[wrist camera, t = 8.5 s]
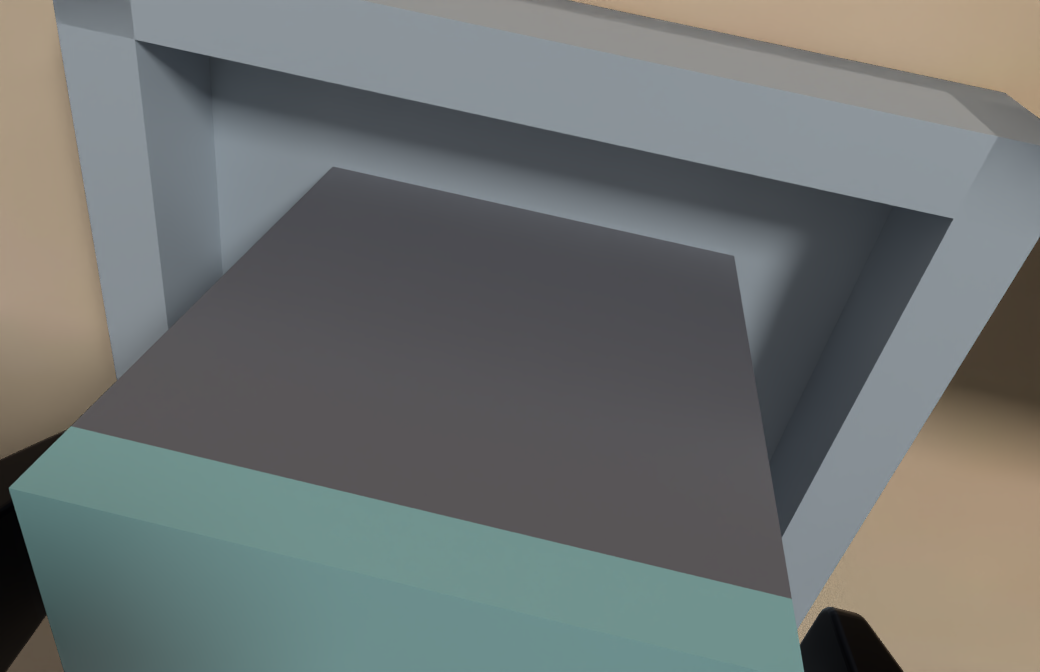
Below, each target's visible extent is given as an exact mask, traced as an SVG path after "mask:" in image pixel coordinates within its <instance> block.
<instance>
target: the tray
mask: <svg viewBox="0 0 1040 672" xmlns="http://www.w3.org/2000/svg"><path fill="white" fill-rule="evenodd" d="M53 5H54V10H55V16H56V22H57V28H58V34H59V40H60V46H61V52H62V58H63V64H64V70H65V76H66V81H67V87H68V93H69V99H70V105H71V111H72V117H73V123H74V129H75V135H76V141H77V146H78V152H79V158H80V164H81V170H82V176H83V182H84V188H85V194H86V200H87V206H88V212H89V217H90V223H91V229H92V235H93V241H94V247H95V253H96V259H97V265H98V271H99V277H100V283H101V288H102V294H103V300H104V306H105V312H106V318H107V324H108V330H109V336H110V342H111V348H112V354H113V359H114V365H115V371H116V377H117V380H118V379H119V378H120V377H121V376H122V375H123V374H124V373H125V372H126V371H127V370H128V369H129V368H130V367H131V366H132V365H133V364H134V363H135V362H136V361H137V360H138V359H139V358H140V357H141V356H142V355H143V354H144V353H145V352H146V351H147V350H148V349H149V348H150V347H151V346H152V345H153V344H154V343H155V342H156V341H157V340H158V339H159V338H160V337H161V336H162V335H163V334H164V333H165V332H166V331H167V330H168V329H169V328H170V327H171V326H173V325H174V324H175V323H176V322H177V321H178V320H179V319H180V318H181V317H182V316H183V315H184V314H185V313H186V312H187V311H188V310H189V309H190V308H191V307H192V306H193V305H194V304H195V303H196V302H197V301H198V300H199V299H200V298H201V297H202V296H203V295H204V294H205V293H206V292H207V291H208V290H209V289H210V288H211V287H212V286H213V285H214V284H215V283H216V282H217V281H218V280H219V279H220V278H221V277H222V276H223V275H224V274H225V273H226V272H227V271H228V270H229V269H230V268H231V267H232V266H233V265H234V264H235V263H236V262H237V261H238V260H239V259H240V258H241V257H242V256H243V255H244V254H245V253H246V252H247V251H248V250H249V249H250V248H251V247H252V246H253V245H254V244H255V243H256V242H257V241H258V240H259V239H260V238H261V237H262V236H263V235H264V234H265V233H266V232H267V231H268V230H269V229H270V228H271V227H272V226H273V225H274V224H275V223H276V222H277V221H278V220H279V219H280V218H281V217H282V216H283V215H284V214H285V213H286V212H288V211H289V210H290V209H291V208H292V207H293V206H294V205H295V204H296V203H297V202H298V201H299V200H300V199H301V198H302V197H303V196H304V195H305V194H306V193H307V192H308V191H309V190H310V189H311V188H312V187H313V186H314V185H315V184H316V183H317V182H318V181H319V180H320V179H321V178H322V177H323V176H324V175H325V174H326V173H327V172H328V171H329V170H330V169H331V168H332V167H338V168H342V169H347V170H351V171H356V172H360V173H365V174H369V175H374V176H378V177H383V178H387V179H392V180H396V181H401V182H405V183H409V184H414V185H418V186H423V187H427V188H432V189H436V190H441V191H445V192H450V193H454V194H459V195H463V196H468V197H472V198H477V199H481V200H486V201H490V202H495V203H499V204H504V205H508V206H513V207H517V208H522V209H526V210H531V211H535V212H540V213H544V214H548V215H553V216H557V217H562V218H566V219H571V220H575V221H580V222H584V223H589V224H593V225H598V226H602V227H607V228H611V229H616V230H620V231H625V232H629V233H634V234H638V235H643V236H647V237H652V238H656V239H661V240H665V241H670V242H674V243H679V244H683V245H687V246H692V247H696V248H701V249H705V250H710V251H714V252H719V253H723V254H728V255H732V256H734V258H735V264H736V270H737V276H738V282H739V288H740V294H741V300H742V306H743V312H744V318H745V323H746V329H747V335H748V341H749V347H750V353H751V359H752V365H753V371H754V377H755V383H756V389H757V395H758V401H759V407H760V413H761V418H762V424H763V430H764V436H765V442H766V448H767V454H768V460H769V466H770V472H771V478H772V484H773V490H774V496H775V502H776V508H777V513H778V519H779V525H780V531H781V537H782V543H783V549H784V555H785V561H786V567H787V573H788V579H789V585H790V591H791V597H792V603H793V608H794V614H795V620H796V626H797V629H798V627H799V626H800V624H801V622H802V621H803V619H804V618H805V616H806V614H807V613H808V611H809V609H810V608H811V606H812V605H813V603H814V601H815V600H816V598H817V596H818V595H819V593H820V592H821V590H822V588H823V587H824V585H825V584H826V582H827V580H828V579H829V577H830V575H831V574H832V572H833V571H834V569H835V567H836V566H837V564H838V562H839V561H840V559H841V558H842V556H843V554H844V553H845V551H846V550H847V548H848V546H849V545H850V543H851V541H852V540H853V538H854V537H855V535H856V533H857V532H858V530H859V529H860V527H861V525H862V524H863V522H864V520H865V519H866V517H867V516H868V514H869V512H870V511H871V509H872V507H873V506H874V504H875V503H876V501H877V499H878V498H879V496H880V495H881V493H882V491H883V490H884V488H885V486H886V485H887V483H888V482H889V480H890V478H891V477H892V475H893V473H894V472H895V470H896V469H897V467H898V465H899V464H900V462H901V461H902V459H903V457H904V456H905V454H906V452H907V451H908V449H909V448H910V446H911V444H912V443H913V441H914V440H915V438H916V436H917V435H918V433H919V431H920V430H921V428H922V427H923V425H924V423H925V422H926V420H927V418H928V417H929V415H930V414H931V412H932V410H933V409H934V407H935V406H936V404H937V402H938V401H939V399H940V397H941V396H942V394H943V393H944V391H945V389H946V388H947V386H948V384H949V383H950V381H951V380H952V378H953V376H954V375H955V373H956V372H957V370H958V368H959V367H960V365H961V363H962V362H963V360H964V359H965V357H966V355H967V354H968V352H969V351H970V349H971V347H972V346H973V344H974V342H975V341H976V339H977V338H978V336H979V334H980V333H981V331H982V329H983V328H984V326H985V325H986V323H987V321H988V320H989V318H990V317H991V315H992V313H993V312H994V310H995V308H996V307H997V305H998V304H999V302H1000V300H1001V299H1002V297H1003V296H1004V294H1005V292H1006V291H1007V289H1008V287H1009V286H1010V284H1011V283H1012V281H1013V279H1014V278H1015V276H1016V274H1017V273H1018V271H1019V270H1020V268H1021V266H1022V265H1023V263H1024V262H1025V260H1026V258H1027V257H1028V255H1029V253H1030V252H1031V250H1032V249H1033V247H1034V245H1035V244H1036V242H1037V240H1038V239H1039V237H1040V119H1039V118H1038V117H1036V116H1035V115H1034V114H1032V113H1031V112H1030V111H1028V110H1027V109H1026V108H1024V107H1023V106H1022V105H1020V104H1019V103H1018V102H1016V101H1015V100H1014V99H1012V98H1011V97H1010V96H1008V95H1007V94H1006V93H1003V92H999V91H994V90H989V89H985V88H980V87H975V86H970V85H966V84H961V83H956V82H952V81H947V80H942V79H937V78H933V77H928V76H923V75H918V74H914V73H909V72H904V71H900V70H895V69H890V68H885V67H881V66H876V65H871V64H867V63H862V62H857V61H852V60H848V59H843V58H838V57H834V56H829V55H824V54H819V53H815V52H810V51H805V50H801V49H796V48H791V47H786V46H782V45H777V44H772V43H767V42H763V41H758V40H753V39H749V38H744V37H739V36H734V35H730V34H725V33H720V32H716V31H711V30H706V29H701V28H697V27H692V26H687V25H683V24H678V23H673V22H668V21H664V20H659V19H654V18H650V17H645V16H640V15H635V14H631V13H626V12H621V11H617V10H612V9H607V8H602V7H598V6H593V5H588V4H583V3H579V2H574V1H569V0H53Z"/></svg>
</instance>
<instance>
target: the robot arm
mask: <svg viewBox="0 0 1040 672" xmlns="http://www.w3.org/2000/svg"><path fill="white" fill-rule="evenodd" d="M67 430H68V429H67ZM67 430H65V431H62V432H60V433H58V434H56V435H54V436H51V437H49V438H47V439H45V440H42V441H40V442H38V443H36V444H34V445H31V446H29V447H27V448H25V449H23V450H20V451H18V452H16V453H14V454H12V455H9V456H7V457H5V458H3V459H0V672H6V671H7V670H8V668H9V667H10V665H11V664H12V663H13V661H14V660H15V658H16V657H17V656H18V654H19V653H20V651H21V650H22V649H23V647H24V646H25V644H26V643H27V642H28V640H29V639H30V637H31V636H32V635H33V633H34V632H35V630H36V629H37V628H38V626H39V625H40V623H41V622H42V620H43V619H44V618H45V616H46V615H47V613H46V610H45V607H44V603H43V600H42V597H41V593H40V590H39V587H38V584H37V580H36V577H35V574H34V570H33V567H32V564H31V560H30V557H29V554H28V550H27V547H26V544H25V540H24V537H23V534H22V531H21V527H20V524H19V521H18V517H17V514H16V511H15V507H14V504H13V501H12V497H11V494H10V491H9V487H10V486H11V485H12V484H13V483H14V482H15V481H16V480H17V479H18V478H19V477H20V476H21V475H22V474H23V473H24V472H25V471H26V470H27V469H28V468H29V467H30V466H31V465H32V464H33V463H34V462H35V461H36V460H37V459H38V458H39V457H40V456H41V455H42V454H43V453H44V452H45V451H46V450H47V449H48V448H49V447H50V446H51V445H52V444H53V443H54V442H55V441H57V440H58V439H59V438H60V437H61V436H62V435H63V434H64V433H65V432H66V431H67ZM800 650H801V656H802V662H803V668H804V672H903V670H902V669H901V667H900V666H899V665H898V663H897V662H896V661H895V659H894V658H893V656H892V655H891V654H890V652H889V651H888V650H887V648H886V647H885V646H884V644H883V643H882V641H881V640H880V639H879V637H878V636H877V635H876V633H875V632H874V631H873V629H872V628H871V626H870V625H869V624H868V622H867V621H866V620H865V619H864V618H863V617H862V616H861V615H859V614H857V613H854V612H850V611H846V610H842V609H838V608H834V607H827V608H825V609H823V610H822V611H821V612H820V614H819V615H818V617H817V618H816V620H815V621H814V623H813V625H812V626H811V628H810V629H809V631H808V633H807V634H806V636H805V637H804V639H803V640H802V642H801V644H800Z"/></svg>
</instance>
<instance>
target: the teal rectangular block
mask: <svg viewBox="0 0 1040 672" xmlns="http://www.w3.org/2000/svg"><path fill="white" fill-rule="evenodd" d="M9 491H10V494H11V497H12V501H13V504H14V507H15V511H16V514H17V517H18V521H19V524H20V527H21V531H22V534H23V537H24V540H25V544H26V547H27V550H28V554H29V557H30V560H31V564H32V567H33V570H34V574H35V577H36V580H37V584H38V587H39V590H40V593H41V597H42V600H43V603H44V607H45V610H46V613H47V617H48V620H49V623H50V627H51V630H52V633H53V636H54V640H55V643H56V646H57V650H58V653H59V656H60V660H61V663H62V666H63V670H64V672H804V668H803V662H802V656H801V650H800V644H799V638H798V632H797V626H796V620H795V614H794V608H793V603H792V597H791V591H790V585H789V579H788V573H787V567H786V561H785V555H784V549H783V543H782V537H781V531H780V525H779V519H778V513H777V508H776V502H775V496H774V490H773V484H772V478H771V472H770V466H769V460H768V454H767V448H766V442H765V436H764V430H763V424H762V418H761V413H760V407H759V401H758V395H757V389H756V383H755V377H754V371H753V365H752V359H751V353H750V347H749V341H748V335H747V329H746V323H745V318H744V312H743V306H742V300H741V294H740V288H739V282H738V276H737V270H736V264H735V258H734V256H732V255H728V254H723V253H719V252H714V251H710V250H705V249H701V248H696V247H692V246H687V245H683V244H679V243H674V242H670V241H665V240H661V239H656V238H652V237H647V236H643V235H638V234H634V233H629V232H625V231H620V230H616V229H611V228H607V227H602V226H598V225H593V224H589V223H584V222H580V221H575V220H571V219H566V218H562V217H557V216H553V215H548V214H544V213H540V212H535V211H531V210H526V209H522V208H517V207H513V206H508V205H504V204H499V203H495V202H490V201H486V200H481V199H477V198H472V197H468V196H463V195H459V194H454V193H450V192H445V191H441V190H436V189H432V188H427V187H423V186H418V185H414V184H409V183H405V182H401V181H396V180H392V179H387V178H383V177H378V176H374V175H369V174H365V173H360V172H356V171H351V170H347V169H342V168H338V167H332V168H331V169H330V170H329V171H328V172H327V173H326V174H325V175H324V176H323V177H322V178H321V179H320V180H319V181H318V182H317V183H316V184H315V185H314V186H313V187H312V188H311V189H310V190H309V191H308V192H307V193H306V194H305V195H304V196H303V197H302V198H301V199H300V200H299V201H298V202H297V203H296V204H295V205H294V206H293V207H292V208H291V209H290V210H289V211H288V212H286V213H285V214H284V215H283V216H282V217H281V218H280V219H279V220H278V221H277V222H276V223H275V224H274V225H273V226H272V227H271V228H270V229H269V230H268V231H267V232H266V233H265V234H264V235H263V236H262V237H261V238H260V239H259V240H258V241H257V242H256V243H255V244H254V245H253V246H252V247H251V248H250V249H249V250H248V251H247V252H246V253H245V254H244V255H243V256H242V257H241V258H240V259H239V260H238V261H237V262H236V263H235V264H234V265H233V266H232V267H231V268H230V269H229V270H228V271H227V272H226V273H225V274H224V275H223V276H222V277H221V278H220V279H219V280H218V281H217V282H216V283H215V284H214V285H213V286H212V287H211V288H210V289H209V290H208V291H207V292H206V293H205V294H204V295H203V296H202V297H201V298H200V299H199V300H198V301H197V302H196V303H195V304H194V305H193V306H192V307H191V308H190V309H189V310H188V311H187V312H186V313H185V314H184V315H183V316H182V317H181V318H180V319H179V320H178V321H177V322H176V323H175V324H174V325H173V326H171V327H170V328H169V329H168V330H167V331H166V332H165V333H164V334H163V335H162V336H161V337H160V338H159V339H158V340H157V341H156V342H155V343H154V344H153V345H152V346H151V347H150V348H149V349H148V350H147V351H146V352H145V353H144V354H143V355H142V356H141V357H140V358H139V359H138V360H137V361H136V362H135V363H134V364H133V365H132V366H131V367H130V368H129V369H128V370H127V371H126V372H125V373H124V374H123V375H122V376H121V377H120V378H119V379H118V380H117V381H116V382H115V383H114V384H113V385H112V386H111V387H110V388H109V389H108V390H107V391H106V392H105V393H104V394H103V395H102V396H101V397H100V398H99V399H98V400H97V401H96V402H95V403H94V404H93V405H92V406H91V407H90V408H89V409H88V410H87V411H86V412H85V413H84V414H83V415H82V416H81V417H80V418H79V419H78V420H77V421H76V422H75V423H74V424H73V425H72V426H71V427H70V428H69V429H68V430H67V431H66V432H65V433H64V434H63V435H62V436H61V437H60V438H59V439H58V440H57V441H55V442H54V443H53V444H52V445H51V446H50V447H49V448H48V449H47V450H46V451H45V452H44V453H43V454H42V455H41V456H40V457H39V458H38V459H37V460H36V461H35V462H34V463H33V464H32V465H31V466H30V467H29V468H28V469H27V470H26V471H25V472H24V473H23V474H22V475H21V476H20V477H19V478H18V479H17V480H16V481H15V482H14V483H13V484H12V485H11V486H10V487H9Z"/></svg>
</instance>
